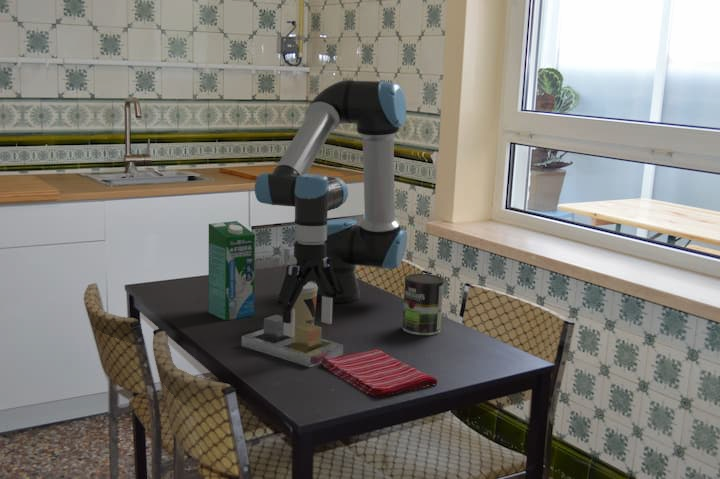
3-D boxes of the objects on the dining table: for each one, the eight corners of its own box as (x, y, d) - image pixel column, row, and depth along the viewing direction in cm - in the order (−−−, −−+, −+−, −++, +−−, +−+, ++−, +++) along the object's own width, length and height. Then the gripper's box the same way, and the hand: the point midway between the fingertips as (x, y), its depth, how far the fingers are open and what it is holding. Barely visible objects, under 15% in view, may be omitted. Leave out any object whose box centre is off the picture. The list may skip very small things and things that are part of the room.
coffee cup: (311, 335, 215) (312, 290, 212) (276, 332, 216) (277, 287, 214) (320, 325, 224) (321, 281, 221) (286, 321, 225) (287, 278, 223)
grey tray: (275, 334, 214) (275, 325, 214) (342, 354, 201) (343, 344, 201) (241, 345, 205) (241, 336, 204) (310, 367, 192) (310, 357, 191)
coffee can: (424, 338, 216) (427, 285, 213) (394, 329, 223) (396, 277, 220) (448, 330, 223) (452, 279, 221) (418, 321, 230) (421, 271, 227)
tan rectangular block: (307, 350, 203) (307, 323, 202) (320, 355, 200) (321, 327, 199) (294, 355, 200) (294, 327, 198) (308, 359, 197) (308, 331, 196)
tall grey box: (275, 341, 209) (276, 314, 208) (289, 345, 206) (290, 318, 205) (263, 345, 206) (263, 318, 204) (276, 350, 203) (277, 322, 202)
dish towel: (376, 402, 175) (376, 390, 174) (317, 366, 194) (318, 355, 194) (440, 387, 184) (440, 376, 184) (378, 355, 204) (379, 344, 203)
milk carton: (226, 320, 224) (226, 228, 219) (208, 312, 231) (208, 223, 226) (254, 315, 230) (255, 225, 225) (236, 307, 237) (236, 220, 232)
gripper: (331, 231, 207) (329, 314, 211) (261, 246, 187) (260, 337, 191) (356, 236, 202) (353, 320, 207) (286, 252, 183) (284, 345, 187)
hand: (308, 329), depth 199 cm, fingers open, 13 cm apart
